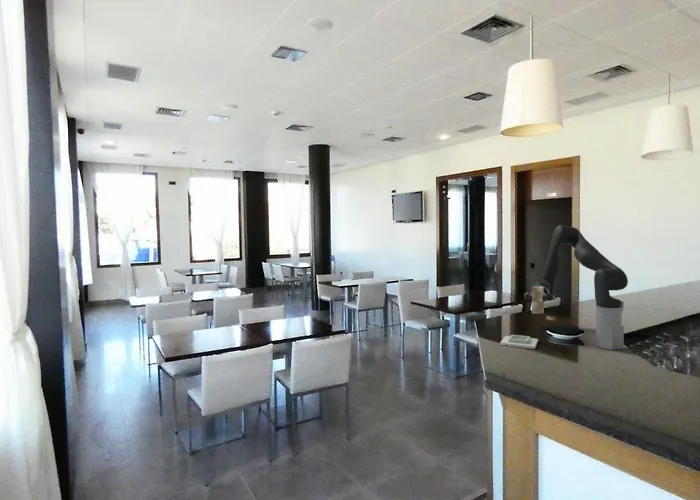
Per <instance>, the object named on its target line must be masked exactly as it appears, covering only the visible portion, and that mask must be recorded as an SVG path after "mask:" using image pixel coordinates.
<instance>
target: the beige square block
mask: <svg viewBox="0 0 700 500" xmlns="http://www.w3.org/2000/svg"><path fill="white" fill-rule="evenodd" d="M531 293H532V300H531V313H532V314H540V315H543V314H544V309H545V308H544V307H545V305H544V301H543V295H544V287H534V286H532V287H531Z"/></svg>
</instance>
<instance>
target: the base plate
mask: <svg viewBox="0 0 700 500" xmlns="http://www.w3.org/2000/svg"><path fill="white" fill-rule="evenodd" d="M538 343H539V339H538V338H533V337H531V336H528V335H519V334H510V335H505V336H504V337H503V338H502V339H501V341H500V343H499V345H500V346H505V345H508V347H514V346H515V348H523V349H524V348H525V349H526V348H527V349H534V350H535V349H536V348H537V346H538Z"/></svg>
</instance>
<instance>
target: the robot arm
mask: <svg viewBox="0 0 700 500" xmlns="http://www.w3.org/2000/svg"><path fill="white" fill-rule="evenodd" d="M561 244H562V245H563V244H564V245H566V246H571V247H572V248H574V250H573V255H574V257H575V258H576V260H577V262H579V264H581V266H583V267H584V268H585V269H589V270H591V271H594V272H595V273H594V276H593V278H594V279H593V285H594V286H593V287H594V298H595V346H596V347H597V348H600V349H605V350H611V351H615V350H616V351H617V350H624V342H625V340H624V338H625V334H624V333H625V332H624V331H625V329H624V326H623V325H622V322H623V321H622V319H623V318H622V317H623V315H622V314H623V312H622V302H623V301H622V302H621V300H620V299H619V298H615V297H613V296H611V293H610V291H621V290H624V289H625V288H627V286H628V284H629V281H628V276H627V275H626V273H625V272H624V270H623V269H622V268H620V267H619V266H617V265H616V264H614V263H613V262H611V261H610V260H609V259H608V258H607V257H605V256H604V255H603V254H602V253H601V252H600V251H599V250H598V249H597V248H596V247H595V246H593V244H591V242H589V241H588V240H587V239H586V238H585V237H584V235H583V234H582V233H581V231H580V230H578V228H576V227H573V226H569V225H565V224H564V225H563V224H560V225H557V226H556V227H555V228H554V231H553V233H552V235H551V242H550V247H549V251H548V257H547V260H546V263H545V265H544V269H543V270H542V274H541V278H542V280H544V281H546V282H547V283H548V284H547V283H544V282H542V281H537V282H535V284H534V285H533V287H544V295H543V301H544V302H547V301H550V302H551V301H553V300H555V298H556V295H555V293H556V289H555V288H556V280H557V277H558V275H559V272H560V270H561V260H560V257H559V248H560V245H561ZM524 299H525V300H530V301H532V292H531V293H529V292H524Z"/></svg>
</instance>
